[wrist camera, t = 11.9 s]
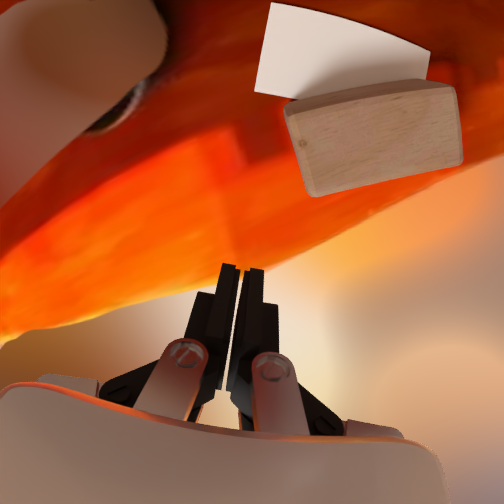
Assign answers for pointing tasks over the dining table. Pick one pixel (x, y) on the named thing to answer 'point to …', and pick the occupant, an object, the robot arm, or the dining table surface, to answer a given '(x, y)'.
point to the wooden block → (374, 133)
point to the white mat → (330, 54)
